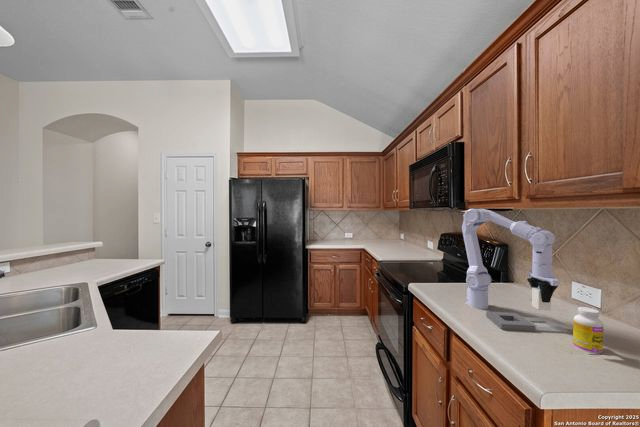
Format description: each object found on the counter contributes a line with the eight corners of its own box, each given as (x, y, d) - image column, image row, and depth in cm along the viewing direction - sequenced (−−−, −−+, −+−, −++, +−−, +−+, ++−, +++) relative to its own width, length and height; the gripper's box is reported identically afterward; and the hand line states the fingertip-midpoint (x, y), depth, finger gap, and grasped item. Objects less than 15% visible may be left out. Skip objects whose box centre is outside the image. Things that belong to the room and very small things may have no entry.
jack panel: (486, 318, 110) (486, 311, 110) (546, 321, 107) (546, 314, 107) (501, 332, 98) (501, 323, 98) (570, 336, 95) (570, 327, 95)
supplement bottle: (593, 357, 81) (593, 314, 81) (567, 347, 88) (568, 306, 87) (608, 354, 83) (609, 312, 83) (582, 344, 89) (583, 304, 89)
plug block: (531, 305, 104) (531, 284, 104) (543, 306, 103) (543, 285, 103) (538, 309, 100) (538, 287, 100) (550, 310, 99) (550, 288, 99)
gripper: (569, 267, 93) (568, 307, 94) (541, 260, 108) (540, 294, 108) (546, 267, 94) (545, 306, 95) (521, 259, 109) (521, 293, 109)
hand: (541, 300), depth 101 cm, fingers closed on plug block, 4 cm apart
